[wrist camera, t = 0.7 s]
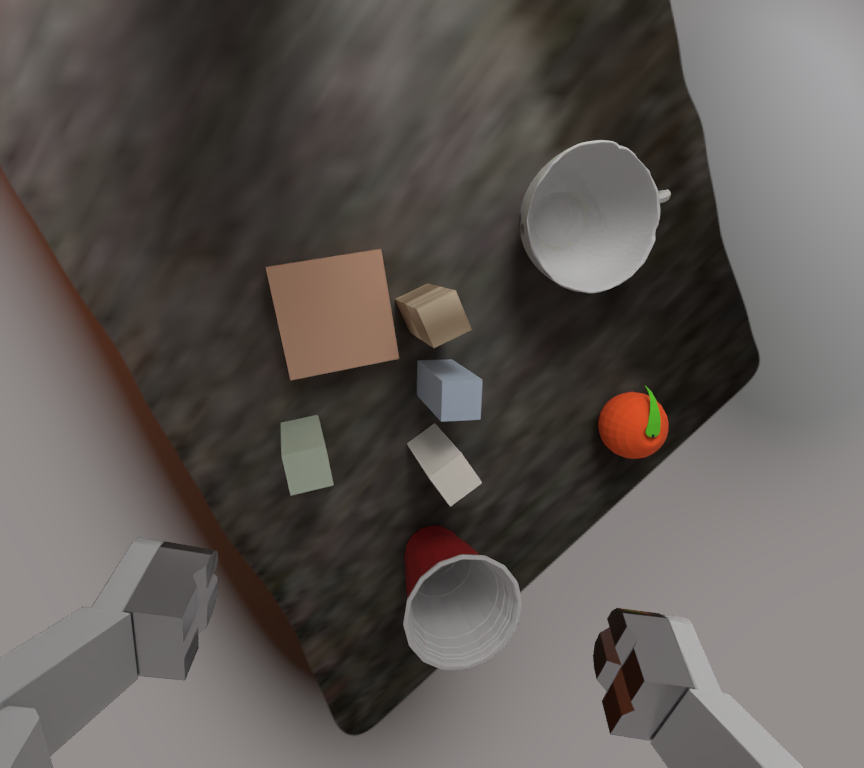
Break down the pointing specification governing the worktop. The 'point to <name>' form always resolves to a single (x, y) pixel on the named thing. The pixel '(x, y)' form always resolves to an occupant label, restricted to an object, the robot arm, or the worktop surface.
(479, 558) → the plastic cup
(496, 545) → the worktop surface
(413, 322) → the beech post
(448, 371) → the dusty blue post
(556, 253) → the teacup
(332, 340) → the terracotta tile
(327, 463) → the sage green post
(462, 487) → the cream post
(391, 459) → the worktop surface
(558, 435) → the worktop surface
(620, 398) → the clementine
